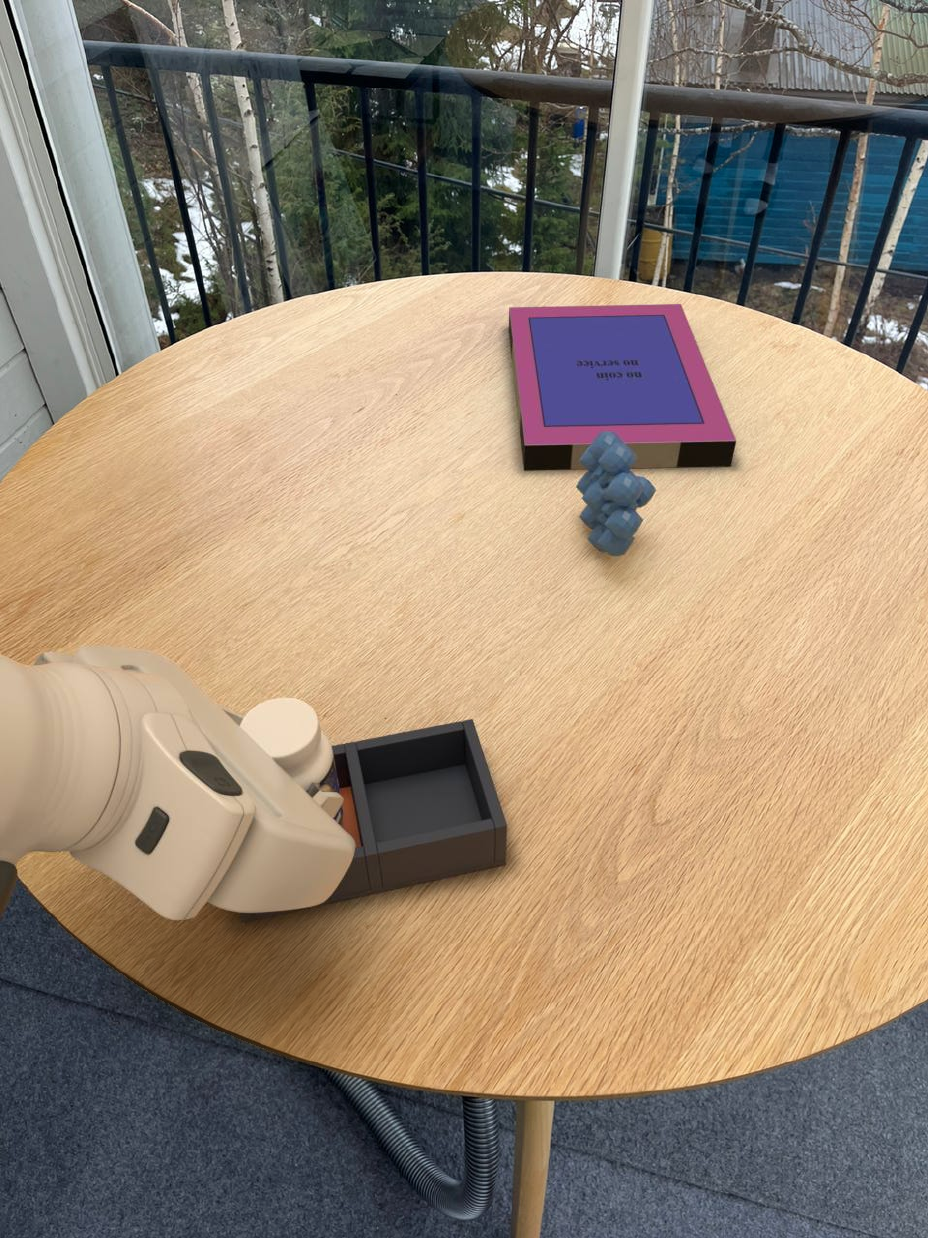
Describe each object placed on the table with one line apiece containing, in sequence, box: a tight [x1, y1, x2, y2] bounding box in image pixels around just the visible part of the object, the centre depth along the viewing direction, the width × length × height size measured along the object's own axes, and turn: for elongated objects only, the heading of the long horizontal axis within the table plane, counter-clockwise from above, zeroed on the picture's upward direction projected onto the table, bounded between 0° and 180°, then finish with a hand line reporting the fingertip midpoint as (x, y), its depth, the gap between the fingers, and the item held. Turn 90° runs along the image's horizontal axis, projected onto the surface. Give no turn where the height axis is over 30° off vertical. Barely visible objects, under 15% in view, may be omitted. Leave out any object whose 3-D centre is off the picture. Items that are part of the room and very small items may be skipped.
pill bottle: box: [240, 697, 344, 827], centre depth 58 cm, size 6×6×10 cm
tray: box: [239, 718, 508, 923], centre depth 63 cm, size 17×9×5 cm, turn 104°
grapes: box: [575, 431, 657, 558], centre depth 82 cm, size 12×7×12 cm, turn 10°
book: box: [508, 303, 737, 471], centre depth 105 cm, size 21×3×30 cm
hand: (297, 768), depth 58 cm, fingers closed on pill bottle, 6 cm apart
